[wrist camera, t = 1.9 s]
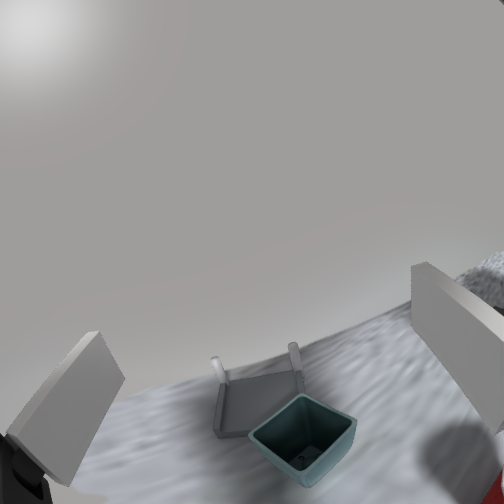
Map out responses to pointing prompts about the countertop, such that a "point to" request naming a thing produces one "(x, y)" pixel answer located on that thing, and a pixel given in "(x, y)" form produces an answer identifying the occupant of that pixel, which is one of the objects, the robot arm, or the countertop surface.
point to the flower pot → (305, 438)
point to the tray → (254, 397)
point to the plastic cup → (496, 491)
